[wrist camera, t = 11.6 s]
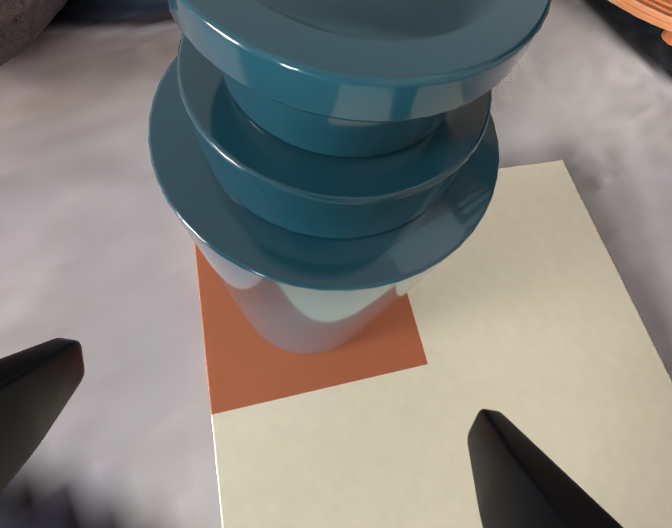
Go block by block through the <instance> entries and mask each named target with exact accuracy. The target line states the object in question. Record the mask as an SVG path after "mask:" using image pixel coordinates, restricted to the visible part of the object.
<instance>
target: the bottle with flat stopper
mask: <svg viewBox="0 0 672 528" xmlns="http://www.w3.org/2000/svg"><path fill="white" fill-rule="evenodd" d="M166 3H167V5H168V8H169V10H170V13H171V14H172V16H173V18H174V19H175V21H176V23H177V24H178V26H179V28H180V29H181V31H182V32H183V35H182V38H181V40H180V45H179V51H178V56H177V57H176V58H175V60H174V61H173V62H172V63H171V65H170V66H169V68H168V69H167V71H166V73H165V74H164V76H163V78H162V80H161V81H160V83H159V86H158V89H157V91H156V94H155V96H154V99H153V103H152V108H151V113H150V117H149V137H148V142H149V149H150V156H151V162H152V166H153V169H154V172H155V175H156V178H157V181H158V184H159V186H160V188H161V190H162V192H163V194H164V196H165V198H166V200H167V202H168V203H169V205H170V206H171V208H172V209H173V211H174V212H175V214H176V215H177V217H178V218H179V220H180V221H181V223H182V224H183V225H184V227H185V228H186V230H187V231H188V233H189V234H190V236H191V237H192V239H193V240H194V242H195V243H196V245H197V246H198V248H199V249H200V251H201V252H202V254H203V255H204V257H205V258H206V260H207V261H208V262H209V264H210V265H211V267H212V268H213V270H214V271H215V273H216V274H217V276H218V277H219V279H220V280H221V282H222V283H223V285H224V286H225V288H226V289H227V291H228V292H229V294H230V295H231V297H232V298H233V300H234V301H235V302H236V304H237V305H238V307H239V308H240V310H241V311H242V313H243V314H244V316H245V317H246V319H247V320H248V322H249V323H250V324H251V326H252V327H253V329H254V330H255V331H256V332H257V333H258V334H259V335H260V336H261V337H263V338H264V339H265V340H266V341H268V342H269V343H271V344H273V345H275V346H276V347H279V348H281V349H283V350H286V351H290V352H294V353H301V354H317V353H324V352H327V351H331V350H334V349H336V348H339V347H341V346H343V345H345V344H346V343H348V342H349V341H351V340H352V339H353V338H355V337H356V336H357V335H358V334H359V333H361V332H362V331H363V330H364V329H365V328H366V327H368V326H369V325H370V324H371V323H372V322H373V321H374V320H376V319H377V318H378V317H379V316H380V315H381V314H383V313H384V312H385V311H386V310H387V309H388V308H390V307H391V306H392V305H393V304H394V303H395V302H397V301H398V300H399V299H400V298H401V297H402V296H404V295H405V294H406V293H407V292H408V291H409V290H411V289H412V288H413V287H414V286H415V285H416V284H418V283H419V282H420V281H421V280H422V279H423V278H424V277H426V276H427V275H428V274H429V273H430V272H431V271H433V270H434V269H435V268H436V267H437V266H438V265H440V264H441V263H442V262H443V261H444V260H445V259H447V258H448V257H449V256H450V255H451V254H452V253H454V252H455V251H456V250H457V249H458V248H459V247H460V246H461V245H462V244H463V243H464V242H465V241H466V240H467V239H468V238H469V236H470V235H471V234H472V233H473V232H474V230H475V229H476V227H477V226H478V224H479V223H480V221H481V220H482V218H483V217H484V215H485V213H486V211H487V208H488V206H489V204H490V202H491V199H492V197H493V193H494V189H495V185H496V181H497V176H498V166H499V150H498V139H497V134H496V130H495V125H494V122H493V119H492V116H491V113H490V108H491V99H492V97H491V89H493V88H494V87H495V86H496V85H497V84H498V83H500V82H501V81H502V80H503V79H504V78H505V77H506V76H507V75H508V74H509V73H510V71H511V70H512V69H513V67H514V66H515V65H516V64H517V62H518V61H519V59H520V58H521V56H522V55H523V54H524V52H525V51H526V49H527V48H528V46H529V45H530V43H531V42H532V40H533V39H534V37H535V36H536V34H537V33H538V32H539V30H540V29H541V27H542V25H543V23H544V21H545V19H546V17H547V14H548V12H549V8H550V4H551V0H166Z"/></svg>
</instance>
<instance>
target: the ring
mask: <svg viewBox="0 0 672 528" xmlns="http://www.w3.org/2000/svg"><path fill="white" fill-rule="evenodd" d="M608 1H610V2H611V3H613V4H615V5H616V6H618V7H620V8H622V9H623V10H625V11H627V12H629V13H631V14H632V15H634V16H636V17H638V18H640V19H642V20H644V21H646V22H648V23H650V24H653V25H655V26H657V27H660V28H662V29H664V30H663V32H662V34H661V36H662V39H663V40H664V41H665V42H666V43H667V44H669V45H671V46H672V0H608Z"/></svg>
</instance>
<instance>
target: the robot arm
mask: <svg viewBox="0 0 672 528" xmlns="http://www.w3.org/2000/svg"><path fill="white" fill-rule="evenodd" d="M83 376H84V362H83V355H82V348H81V344H80V343H79V342H78V341H76V340H71V339H65V338H56V339H53V340H50V341H47V342H45V343H42V344H39V345H36V346H34V347H31V348H28V349H26V350H23V351H20V352H18V353H15V354H12V355H9V356H7V357H4V358H1V359H0V494H1V493H2V491H3V490H4V489H5V488H6V486H7V485H8V484H9V483H10V481H11V480H12V479H13V478H14V476H15V475H16V474H17V473H18V471H19V470H20V469H21V468H22V466H23V465H24V464H25V463H26V461H27V460H28V459H29V457H30V456H31V455H32V453H33V452H34V451H35V450H36V448H37V447H38V445H39V444H40V443H41V441H42V440H43V438H44V437H45V435H46V434H47V432H48V431H49V429H50V428H51V426H52V425H53V423H54V422H55V420H56V419H57V417H58V416H59V414H60V413H61V411H62V410H63V408H64V407H65V405H66V404H67V402H68V400H69V399H70V397H71V396H72V394H73V393H74V391H75V390H76V388H77V387H78V385H79V384H80V382H81V380H82V378H83ZM467 443H468V450H469V456H470V462H471V468H472V473H473V479H474V485H475V491H476V497H477V503H478V508H479V513H480V518H481V522H482V526H483V528H623V527H622V526H621V525H620V524H619V523H618V522H617V521H616V520H615V519H614V518H613V517H612V516H611V515H610V514H609V513H608V512H606V511H605V510H604V509H603V508H602V507H601V506H600V505H599V504H598V503H597V502H596V501H595V500H594V499H593V498H592V497H591V496H589V495H588V494H587V493H586V492H585V491H584V490H583V489H582V488H581V487H580V486H579V485H578V484H577V483H576V482H575V481H574V480H572V479H571V478H570V477H569V476H568V475H567V474H566V473H565V472H564V471H563V470H562V469H561V468H560V467H559V466H558V465H557V464H555V463H554V462H553V461H552V460H551V459H550V458H549V457H548V456H547V455H546V454H545V453H544V452H543V451H542V450H541V449H540V448H538V447H537V446H536V445H535V444H534V443H533V442H532V441H531V440H530V439H529V438H528V437H527V436H526V435H525V434H524V433H523V432H521V431H520V430H519V429H518V428H517V427H516V426H515V425H514V424H513V423H512V422H511V421H510V420H509V419H508V418H507V417H506V416H504V415H503V414H502V413H501V412H499V411H496V410H490V409H481V410H480V411H479V412H478V414H477V416H476V418H475V420H474V422H473V424H472V426H471V428H470V430H469V433H468V438H467Z"/></svg>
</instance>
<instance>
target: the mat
mask: <svg viewBox="0 0 672 528" xmlns="http://www.w3.org/2000/svg"><path fill="white" fill-rule="evenodd" d="M194 244H195V254H196V264H197V274H198V285H199V295H200V305H201V315H202V325H203V335H204V346H205V356H206V366H207V376H208V386H209V396H210V407H211V417H212V427H213V437H214V447H215V457H216V467H217V478H218V488H219V498H220V508H221V518H222V528H483V526H482V522H481V518H480V513H479V508H478V503H477V497H476V491H475V485H474V479H473V473H472V468H471V462H470V456H469V450H468V443H467V438H468V433H469V430H470V428H471V426H472V424H473V422H474V420H475V418H476V416H477V414H478V412H479V411H480V410H481V409H490V410H496V411H499V412H501V413H502V414H503V415H504V416H506V417H507V418H508V419H509V420H510V421H511V422H512V423H513V424H514V425H515V426H516V427H517V428H518V429H519V430H520V431H521V432H523V433H524V434H525V435H526V436H527V437H528V438H529V439H530V440H531V441H532V442H533V443H534V444H535V445H536V446H537V447H538V448H540V449H541V450H542V451H543V452H544V453H545V454H546V455H547V456H548V457H549V458H550V459H551V460H552V461H553V462H554V463H555V464H557V465H558V466H559V467H560V468H561V469H562V470H563V471H564V472H565V473H566V474H567V475H568V476H569V477H570V478H571V479H572V480H574V481H575V482H576V483H577V484H578V485H579V486H580V487H581V488H582V489H583V490H584V491H585V492H586V493H587V494H588V495H589V496H591V497H592V498H593V499H594V500H595V501H596V502H597V503H598V504H599V505H600V506H601V507H602V508H603V509H604V510H605V511H606V512H608V513H609V514H610V515H611V516H612V517H613V518H614V519H615V520H616V521H617V522H618V523H619V524H620V525H621V526H622V527H623V528H672V381H671V379H670V377H669V375H668V373H667V371H666V369H665V367H664V365H663V362H662V360H661V358H660V356H659V354H658V352H657V350H656V348H655V346H654V344H653V342H652V340H651V338H650V336H649V334H648V332H647V330H646V328H645V326H644V324H643V322H642V320H641V318H640V316H639V314H638V312H637V310H636V308H635V306H634V304H633V302H632V300H631V298H630V296H629V294H628V292H627V290H626V288H625V286H624V284H623V282H622V280H621V278H620V276H619V273H618V271H617V269H616V267H615V265H614V263H613V261H612V259H611V257H610V255H609V253H608V251H607V249H606V247H605V245H604V243H603V241H602V239H601V237H600V235H599V233H598V231H597V229H596V227H595V225H594V223H593V221H592V219H591V217H590V215H589V213H588V211H587V209H586V207H585V205H584V203H583V201H582V199H581V197H580V195H579V193H578V191H577V189H576V187H575V185H574V182H573V180H572V178H571V176H570V174H569V172H568V170H567V168H566V166H565V164H564V162H563V160H558V161H551V162H543V163H535V164H528V165H520V166H513V167H505V168H498V176H497V181H496V185H495V189H494V193H493V197H492V199H491V202H490V204H489V206H488V208H487V211H486V213H485V215H484V217H483V218H482V220H481V221H480V223H479V224H478V226H477V227H476V229H475V230H474V232H473V233H472V234H471V235H470V236H469V238H468V239H467V240H466V241H465V242H464V243H463V244H462V245H461V246H460V247H459V248H458V249H457V250H456V251H455V252H454V253H452V254H451V255H450V256H449V257H448V258H447V259H445V260H444V261H443V262H442V263H441V264H440V265H438V266H437V267H436V268H435V269H434V270H433V271H431V272H430V273H429V274H428V275H427V276H426V277H424V278H423V279H422V280H421V281H420V282H419V283H418V284H416V285H415V286H414V287H413V288H412V289H411V290H409V291H408V292H407V293H406V294H405V295H404V296H402V297H401V298H400V299H399V300H398V301H397V302H395V303H394V304H393V305H392V306H391V307H390V308H388V309H387V310H386V311H385V312H384V313H383V314H381V315H380V316H379V317H378V318H377V319H376V320H374V321H373V322H372V323H371V324H370V325H369V326H368V327H366V328H365V329H364V330H363V331H362V332H361V333H359V334H358V335H357V336H356V337H355V338H353V339H352V340H351V341H349V342H348V343H346V344H345V345H343V346H341V347H339V348H336V349H334V350H331V351H327V352H324V353H317V354H301V353H294V352H290V351H286V350H283V349H281V348H279V347H276V346H275V345H273V344H271V343H269V342H268V341H266V340H265V339H264V338H263V337H261V336H260V335H259V334H258V333H257V332H256V331H255V330H254V329H253V327H252V326H251V324H250V323H249V322H248V320H247V319H246V317H245V316H244V314H243V313H242V311H241V310H240V308H239V307H238V305H237V304H236V302H235V301H234V300H233V298H232V297H231V295H230V294H229V292H228V291H227V289H226V288H225V286H224V285H223V283H222V282H221V280H220V279H219V277H218V276H217V274H216V273H215V271H214V270H213V268H212V267H211V265H210V264H209V262H208V261H207V260H206V258H205V257H204V255H203V254H202V252H201V251H200V249H199V248H198V246H197V245H196V243H195V242H194Z"/></svg>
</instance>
